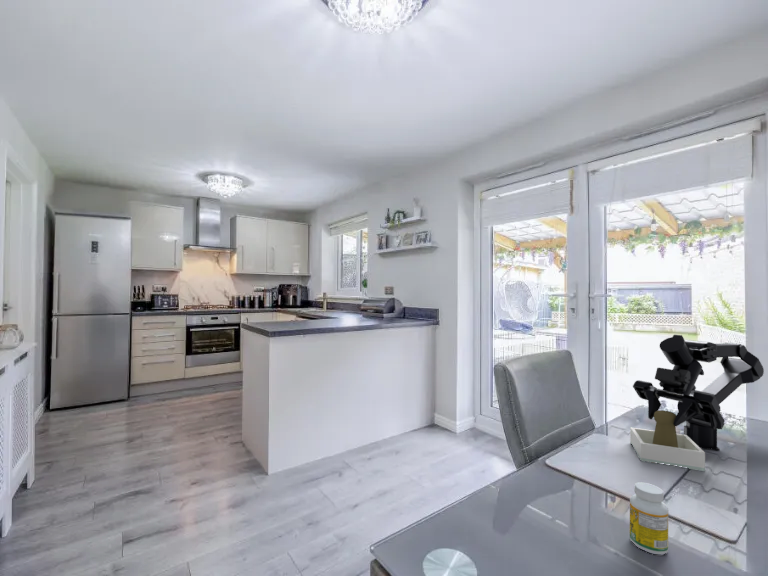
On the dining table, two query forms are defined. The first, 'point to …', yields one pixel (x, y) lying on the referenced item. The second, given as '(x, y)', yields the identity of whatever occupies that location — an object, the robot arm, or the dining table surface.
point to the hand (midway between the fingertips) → (661, 421)
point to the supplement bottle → (649, 518)
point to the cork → (665, 429)
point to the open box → (667, 450)
